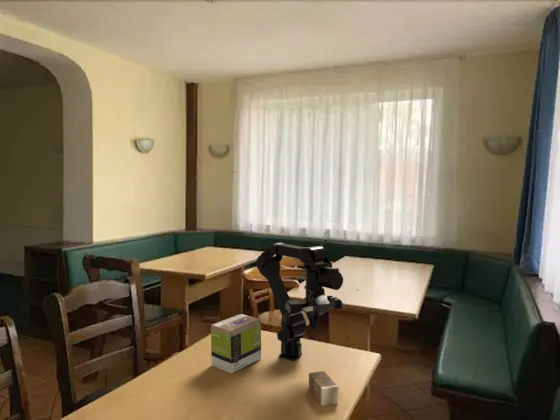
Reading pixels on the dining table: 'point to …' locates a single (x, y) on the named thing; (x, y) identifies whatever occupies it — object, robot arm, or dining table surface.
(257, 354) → the tea box
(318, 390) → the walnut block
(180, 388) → the dining table surface
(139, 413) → the dining table surface
